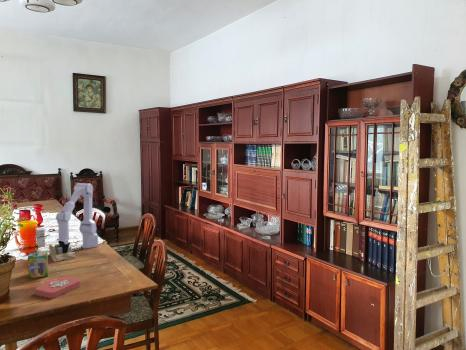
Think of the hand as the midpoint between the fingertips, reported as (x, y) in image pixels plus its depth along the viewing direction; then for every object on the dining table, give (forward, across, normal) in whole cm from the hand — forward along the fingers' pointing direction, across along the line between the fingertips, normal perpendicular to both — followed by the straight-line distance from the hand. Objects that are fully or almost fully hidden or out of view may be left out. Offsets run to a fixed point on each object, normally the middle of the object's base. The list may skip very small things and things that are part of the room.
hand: (64, 252), depth 229 cm
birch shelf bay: (+3, -2, -1) cm, 3 cm away
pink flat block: (+3, +51, -14) cm, 53 cm away
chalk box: (+3, +25, -18) cm, 31 cm away
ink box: (+3, -35, -10) cm, 36 cm away
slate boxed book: (+2, 0, 0) cm, 2 cm away
